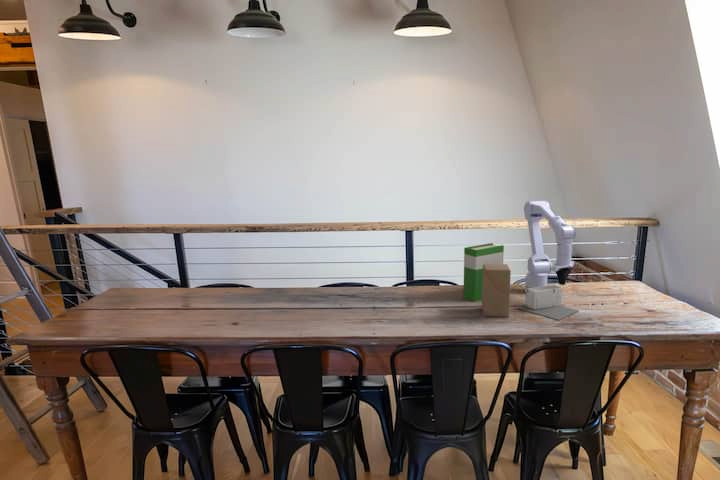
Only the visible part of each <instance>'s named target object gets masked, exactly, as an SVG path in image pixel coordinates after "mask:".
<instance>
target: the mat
mask: <svg viewBox="0 0 720 480" xmlns="http://www.w3.org/2000/svg"><path fill="white" fill-rule="evenodd" d="M518 310H521V311H525V312H527V313H531V314H535V315H538V316H541V317H545V318H548V319H552V320H556V321H558V322H559V321H561V320H563V319H565V318H568V317H570V316H572V315H574V314H577V313H579V311H580V310H578V309H575V308H570V307H567V306H563V305H561V306H555V307H548V308H542V309H535V310H534V309H532V308H529V307H527V306H526V304H525V305H524V306H521V307H518Z"/></svg>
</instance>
